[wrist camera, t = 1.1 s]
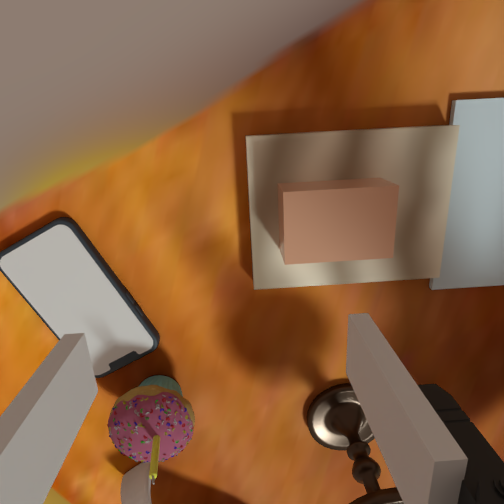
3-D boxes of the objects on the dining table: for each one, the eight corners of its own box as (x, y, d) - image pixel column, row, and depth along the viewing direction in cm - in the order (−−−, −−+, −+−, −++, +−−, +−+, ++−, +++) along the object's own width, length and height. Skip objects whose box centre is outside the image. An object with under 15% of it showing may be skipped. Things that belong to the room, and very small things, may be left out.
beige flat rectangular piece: (447, 124, 33) (459, 125, 31) (429, 269, 38) (439, 277, 36) (245, 135, 33) (246, 136, 31) (253, 281, 38) (254, 289, 36)
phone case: (-3, 253, 36) (97, 373, 41) (-13, 259, 35) (92, 383, 39) (72, 209, 35) (166, 338, 40) (65, 213, 34) (163, 346, 38)
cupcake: (165, 347, 40) (138, 438, 28) (214, 398, 42) (207, 500, 31) (105, 387, 41) (56, 490, 30) (155, 434, 44) (128, 545, 32)
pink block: (380, 177, 33) (399, 185, 29) (375, 242, 35) (392, 257, 31) (277, 183, 32) (283, 192, 29) (279, 248, 34) (284, 264, 31)
